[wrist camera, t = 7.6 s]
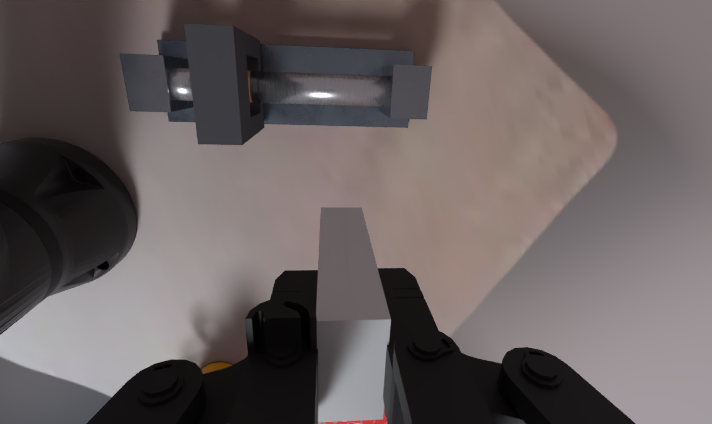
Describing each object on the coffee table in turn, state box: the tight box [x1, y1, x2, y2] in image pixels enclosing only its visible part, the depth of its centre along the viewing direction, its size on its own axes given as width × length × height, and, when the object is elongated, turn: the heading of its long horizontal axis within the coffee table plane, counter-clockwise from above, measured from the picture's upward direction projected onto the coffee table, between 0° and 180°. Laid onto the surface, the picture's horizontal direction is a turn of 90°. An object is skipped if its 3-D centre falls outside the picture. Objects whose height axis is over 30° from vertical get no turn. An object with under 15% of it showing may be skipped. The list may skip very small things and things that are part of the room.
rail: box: [120, 40, 432, 128], centre depth 31 cm, size 23×7×7 cm, turn 88°
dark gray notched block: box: [184, 23, 264, 145], centre depth 28 cm, size 3×8×10 cm, turn 178°
